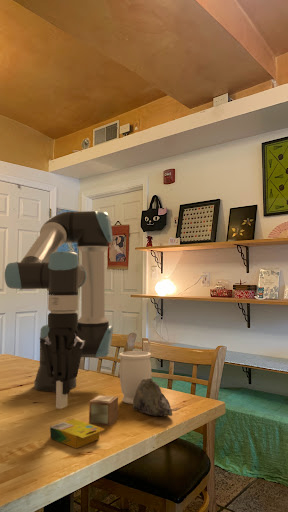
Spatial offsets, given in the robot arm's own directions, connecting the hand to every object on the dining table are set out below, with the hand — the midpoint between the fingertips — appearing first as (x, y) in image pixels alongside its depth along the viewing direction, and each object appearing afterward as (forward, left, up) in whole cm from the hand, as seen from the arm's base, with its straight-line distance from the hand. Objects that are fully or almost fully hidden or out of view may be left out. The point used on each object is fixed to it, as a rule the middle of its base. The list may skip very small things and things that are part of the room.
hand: (61, 406), depth 98 cm
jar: (+4, +33, -7) cm, 34 cm away
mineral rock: (+15, +23, -7) cm, 28 cm away
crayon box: (0, 0, -5) cm, 5 cm away
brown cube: (+5, +12, -7) cm, 15 cm away
